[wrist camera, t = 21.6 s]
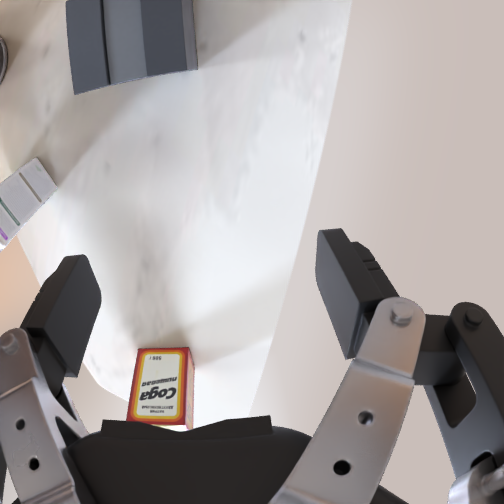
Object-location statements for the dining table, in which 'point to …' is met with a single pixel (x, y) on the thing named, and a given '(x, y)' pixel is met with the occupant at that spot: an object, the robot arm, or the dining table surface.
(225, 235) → the dining table surface
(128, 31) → the grey books
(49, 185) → the syrup box
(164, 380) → the baking soda box
